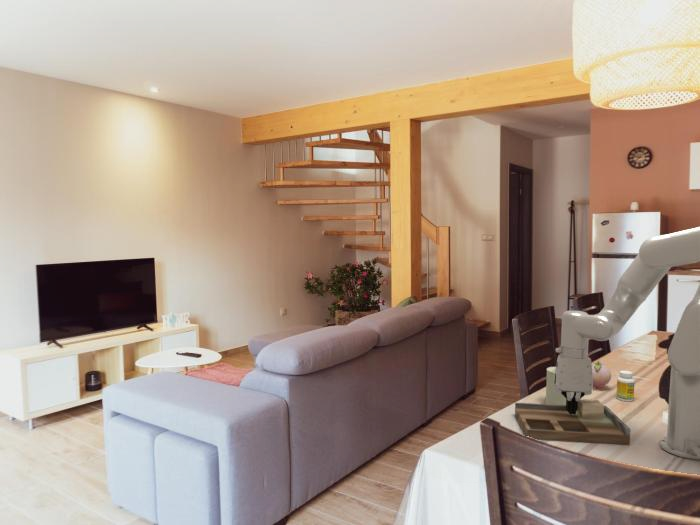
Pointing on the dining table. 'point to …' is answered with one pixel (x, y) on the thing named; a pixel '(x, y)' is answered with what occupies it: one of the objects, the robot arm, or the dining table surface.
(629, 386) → the supplement bottle
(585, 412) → the block
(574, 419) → the brown wooden tray
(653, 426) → the dining table surface
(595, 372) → the decorative fruit
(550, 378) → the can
